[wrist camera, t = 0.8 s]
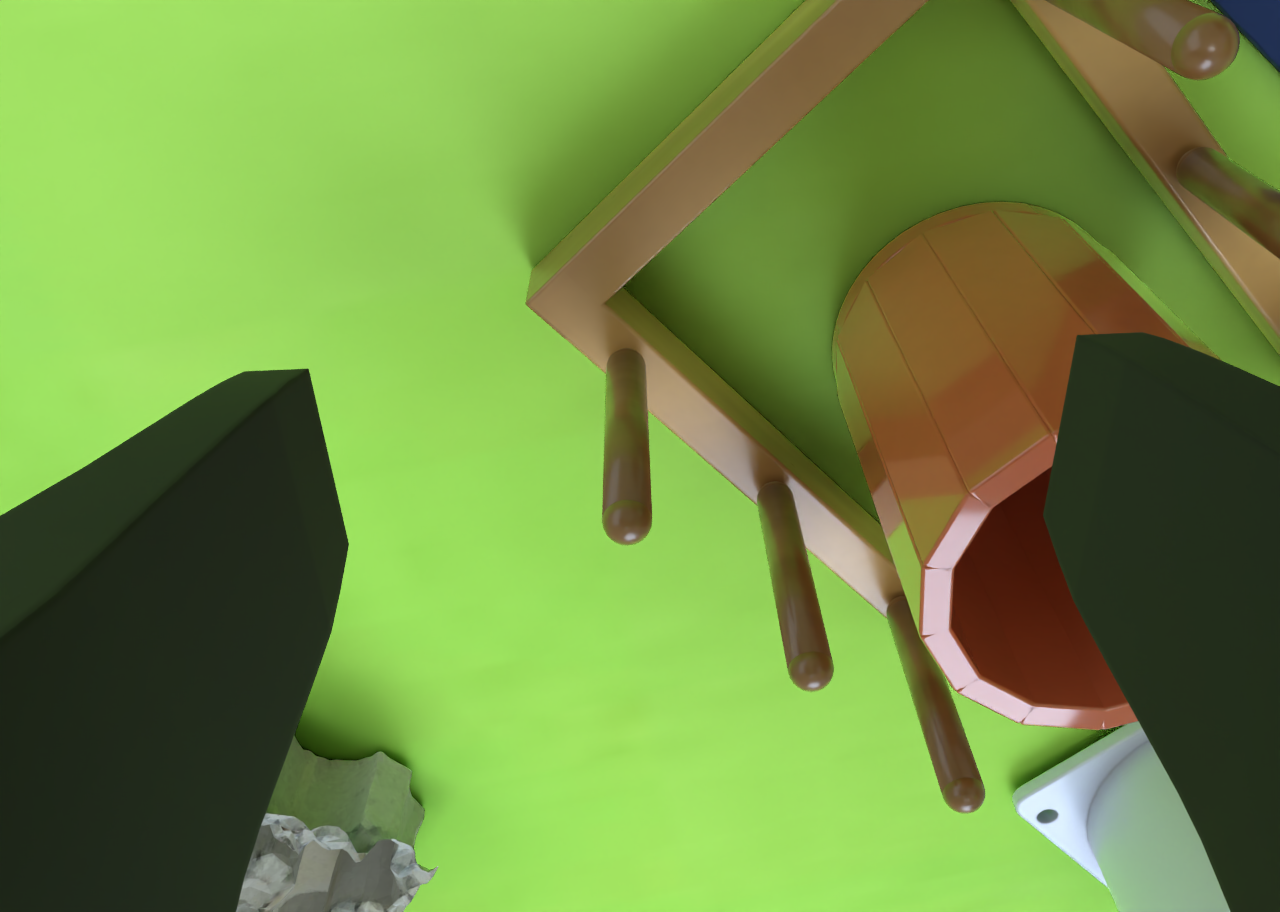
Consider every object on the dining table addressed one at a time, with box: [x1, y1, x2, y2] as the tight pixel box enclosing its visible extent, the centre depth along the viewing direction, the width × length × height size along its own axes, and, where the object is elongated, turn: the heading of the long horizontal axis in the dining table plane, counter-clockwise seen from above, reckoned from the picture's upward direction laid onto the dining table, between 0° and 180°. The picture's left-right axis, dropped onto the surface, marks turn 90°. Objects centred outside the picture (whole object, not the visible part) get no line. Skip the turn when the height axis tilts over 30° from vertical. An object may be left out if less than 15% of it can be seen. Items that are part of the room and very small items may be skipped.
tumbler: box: [832, 201, 1222, 730], centre depth 18 cm, size 6×6×8 cm
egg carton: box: [236, 736, 438, 912], centre depth 27 cm, size 11×8×4 cm
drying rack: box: [526, 0, 1280, 813], centre depth 18 cm, size 12×10×7 cm
